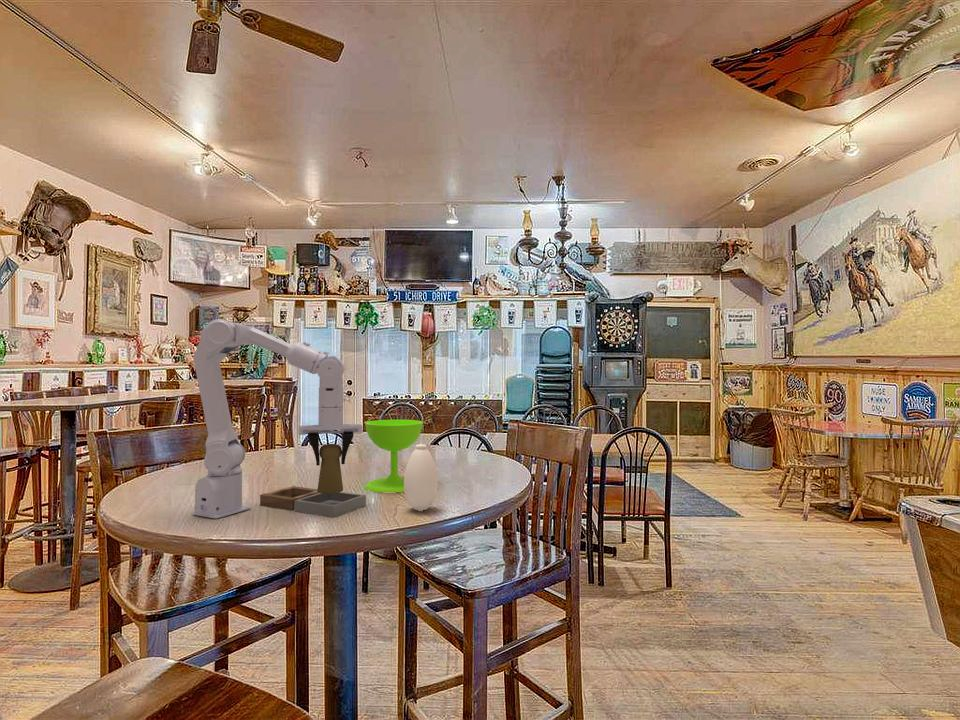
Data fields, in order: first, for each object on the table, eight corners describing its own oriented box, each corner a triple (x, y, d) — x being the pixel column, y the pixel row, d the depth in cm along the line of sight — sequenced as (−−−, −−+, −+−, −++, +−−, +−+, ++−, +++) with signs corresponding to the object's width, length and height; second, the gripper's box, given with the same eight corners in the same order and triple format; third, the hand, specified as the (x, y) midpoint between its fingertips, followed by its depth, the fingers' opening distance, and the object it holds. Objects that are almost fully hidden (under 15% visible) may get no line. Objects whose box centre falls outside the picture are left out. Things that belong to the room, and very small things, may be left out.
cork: (341, 493, 125) (342, 447, 125) (315, 494, 124) (315, 447, 124) (344, 486, 131) (345, 442, 131) (319, 487, 130) (319, 442, 130)
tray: (333, 517, 119) (333, 506, 119) (294, 511, 124) (294, 500, 124) (365, 505, 130) (366, 495, 130) (328, 500, 135) (328, 490, 135)
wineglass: (358, 492, 143) (358, 425, 143) (372, 480, 159) (372, 419, 159) (417, 493, 142) (418, 425, 142) (426, 480, 158) (426, 419, 158)
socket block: (292, 510, 125) (293, 499, 125) (260, 505, 129) (260, 494, 129) (324, 500, 134) (324, 490, 134) (292, 495, 139) (292, 486, 139)
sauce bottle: (444, 508, 127) (444, 432, 127) (424, 516, 120) (424, 436, 120) (417, 504, 131) (418, 430, 131) (397, 511, 124) (397, 434, 124)
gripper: (360, 405, 133) (360, 459, 133) (299, 406, 129) (299, 462, 129) (363, 407, 126) (362, 464, 126) (298, 408, 122) (297, 468, 122)
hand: (330, 464), depth 127 cm, fingers closed on cork, 5 cm apart
